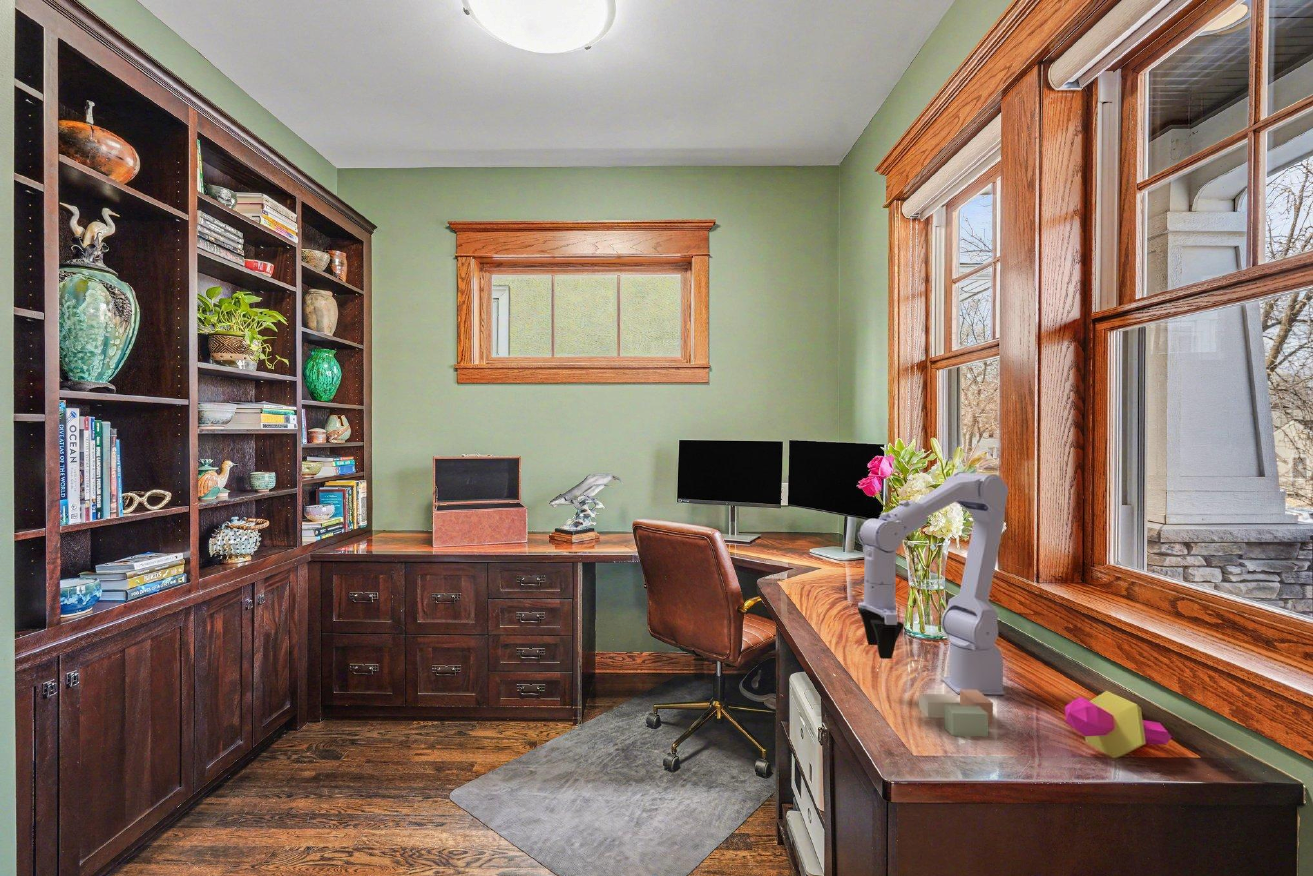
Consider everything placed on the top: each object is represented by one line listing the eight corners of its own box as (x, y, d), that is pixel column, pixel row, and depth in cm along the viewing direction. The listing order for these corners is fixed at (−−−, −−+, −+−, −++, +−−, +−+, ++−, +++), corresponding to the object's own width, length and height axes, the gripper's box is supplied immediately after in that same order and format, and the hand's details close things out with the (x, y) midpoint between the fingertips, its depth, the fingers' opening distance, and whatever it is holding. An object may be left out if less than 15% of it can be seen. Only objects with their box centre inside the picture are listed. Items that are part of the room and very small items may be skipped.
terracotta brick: (959, 710, 121) (959, 689, 121) (976, 711, 121) (977, 689, 121) (974, 725, 115) (974, 702, 115) (992, 725, 115) (992, 703, 115)
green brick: (978, 728, 114) (979, 706, 114) (987, 737, 110) (988, 713, 110) (944, 727, 114) (944, 705, 114) (952, 736, 110) (952, 713, 110)
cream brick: (950, 709, 122) (950, 693, 122) (960, 719, 118) (960, 702, 118) (919, 709, 122) (919, 693, 122) (927, 718, 118) (928, 702, 118)
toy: (1194, 772, 100) (1182, 703, 105) (1100, 748, 97) (1092, 677, 102) (1133, 768, 109) (1125, 704, 114) (1045, 746, 106) (1041, 681, 111)
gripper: (849, 573, 132) (848, 638, 132) (869, 590, 117) (869, 664, 117) (884, 573, 132) (883, 639, 132) (908, 590, 117) (908, 664, 117)
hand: (879, 651), depth 125 cm, fingers open, 7 cm apart
